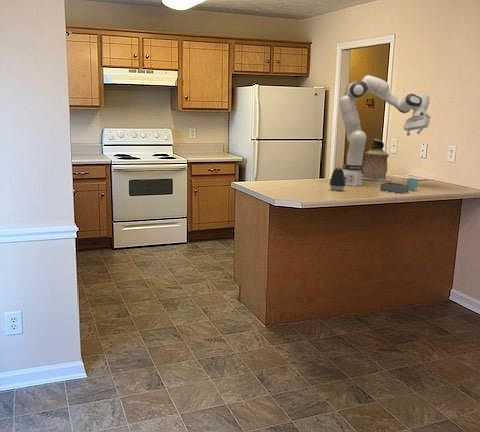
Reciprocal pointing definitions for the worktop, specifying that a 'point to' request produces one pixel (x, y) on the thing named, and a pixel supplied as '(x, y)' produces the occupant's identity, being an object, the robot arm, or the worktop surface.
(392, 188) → the charcoal crate
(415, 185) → the teal crate
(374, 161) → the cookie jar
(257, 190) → the worktop surface
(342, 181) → the black tapered dome
